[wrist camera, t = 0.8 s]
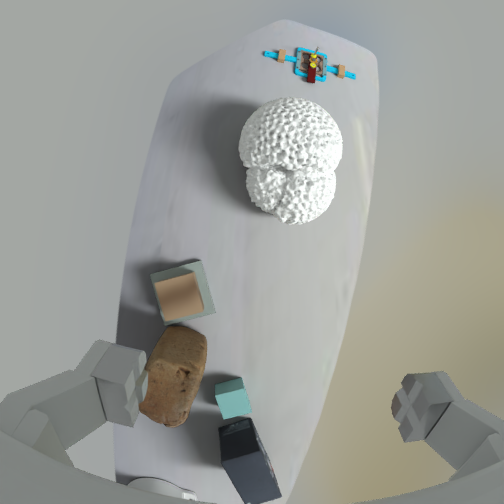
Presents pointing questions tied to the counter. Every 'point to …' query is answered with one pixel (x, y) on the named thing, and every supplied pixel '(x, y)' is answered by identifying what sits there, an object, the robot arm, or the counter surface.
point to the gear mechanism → (310, 64)
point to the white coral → (291, 158)
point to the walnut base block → (179, 296)
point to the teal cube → (232, 398)
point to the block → (174, 375)
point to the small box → (247, 463)
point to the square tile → (202, 284)
